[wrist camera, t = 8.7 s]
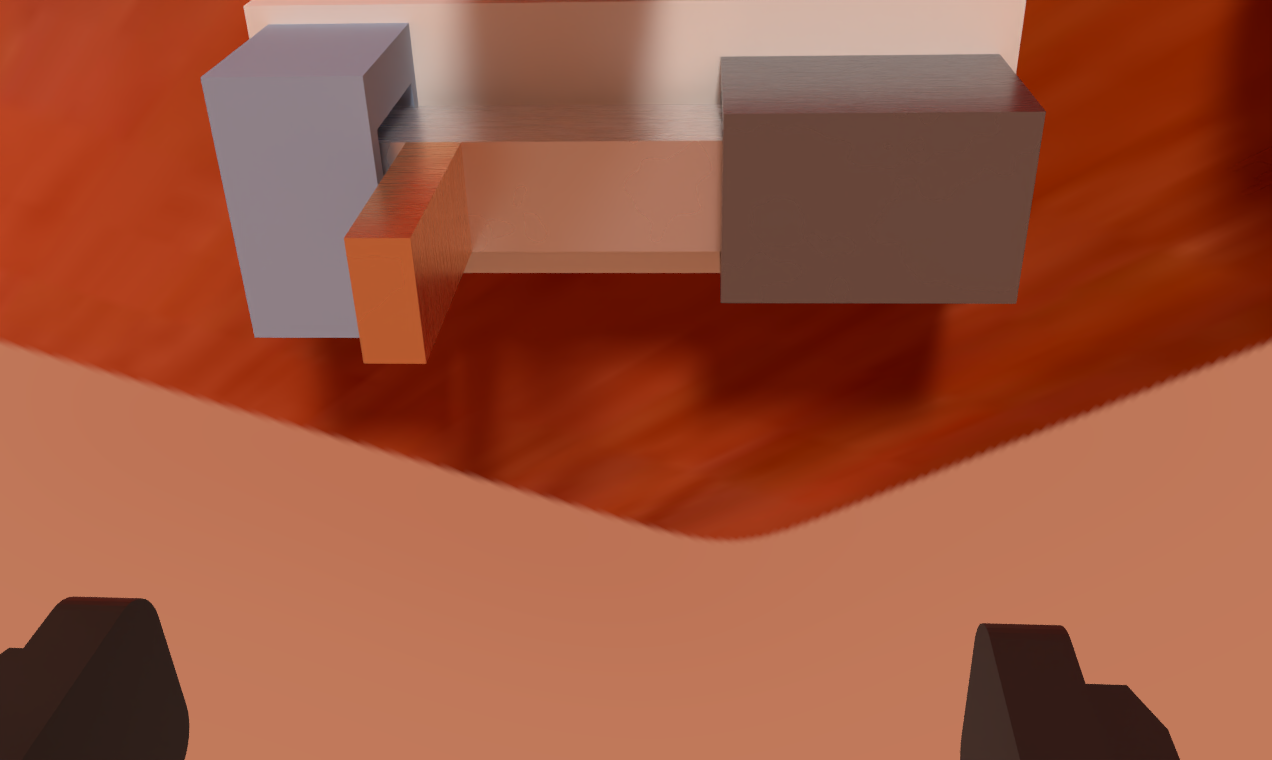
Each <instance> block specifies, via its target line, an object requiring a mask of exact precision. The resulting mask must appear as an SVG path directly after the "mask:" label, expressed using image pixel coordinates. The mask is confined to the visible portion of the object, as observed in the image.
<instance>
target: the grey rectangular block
mask: <svg viewBox="0 0 1272 760" xmlns="http://www.w3.org/2000/svg"><path fill="white" fill-rule="evenodd" d="M720 104H722V123H723V151H722V220H721V251H719V258H720V295H721V303H984V304H1016V301H1017V294H1018V288H1019V281H1020V275H1021V268H1022V262H1023V255H1024V249H1025V242H1026V236H1027V230H1028V223H1029V217H1030V210H1031V204H1032V197H1033V191H1034V184H1035V178H1036V171H1037V165H1038V158H1039V152H1040V145H1041V139H1042V132H1043V126H1044V120H1045V113H1046V111H1045V110H1044V109H1043V108H1042V106H1041V105H1040V104H1039V103H1038V101H1037V100H1036V99H1035V98H1034V96H1033V95H1032V94H1031V93H1030V91H1029V90H1028V89H1027V88H1026V86H1025V85H1024V84H1023V83H1022V81H1021V80H1020V79H1019V77H1018V76H1017V75H1016V74H1015V72H1014V71H1013V70H1012V69H1011V67H1010V66H1009V65H1008V64H1007V62H1006V61H1005V60H1004V59H1003V57H1002V56H1001V55H1000V54H950V55H843V56H736V57H721V87H720Z"/></svg>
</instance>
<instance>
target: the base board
mask: <svg viewBox="0 0 1272 760" xmlns="http://www.w3.org/2000/svg"><path fill="white" fill-rule="evenodd" d="M1025 5H1026V0H251V1H250V2H248V3H247V4H246V5H244V6H243V7H244V12H245V18H246V23H247V28H248V34H249V39H250V38H252V37H253V36H254V35H255V34H257V33H258V32H259V31H261V30H262V29H263V28H264V27H266V26H267V25H268V24H351V23H409V29H410V38H411V46H412V55H413V63H414V72H415V80H416V89H417V97H418V106H475V105H614V104H720V87H721V57H736V56H843V55H950V54H1000V55H1001V56H1002V57H1003V59H1004V60H1005V61H1006V62H1007V64H1008V65H1009V66H1010V67H1011V69H1012V70H1013V71H1014V72H1015V74H1016V69H1017V62H1018V55H1019V48H1020V41H1021V33H1022V26H1023V19H1024V12H1025ZM463 273H720V258H719V251H700V252H472V253H471V255H470V258H469V260H468V263H467V265H466V267H465V270H464V272H463Z"/></svg>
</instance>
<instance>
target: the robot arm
mask: <svg viewBox="0 0 1272 760" xmlns="http://www.w3.org/2000/svg"><path fill="white" fill-rule="evenodd" d="M188 739H189V716H188V710H187V706H186V703H185V700H184V696H183V693H182V690H181V687H180V684H179V680H178V677H177V674H176V671H175V668H174V665H173V661H172V658H171V655H170V652H169V649H168V645H167V642H166V639H165V636H164V633H163V629H162V626H161V623H160V620H159V617H158V614H157V612H156V610H155V608H154V607H153V605H152V604H151V603H150V602H149V601H148V600H146V599H141V598H104V597H102V598H101V597H69V598H66V599H64V600H62V601H61V602H60V603H58V604H57V605H56V606H55V608H54V609H53V610H52V611H51V613H50V614H49V615H48V616H47V618H46V619H45V620H44V622H43V623H42V624H41V626H40V627H39V628H38V630H37V631H36V632H35V634H34V635H33V636H32V638H31V639H30V640H29V642H28V643H27V644H26V645H25V647H24V648H9V649H7V650H5V651H4V652H3V653H1V654H0V760H184V759H185V755H186V751H187V746H188ZM960 755H961V756H960V760H1180V759H1179V756H1178V754H1177V751H1176V749H1175V746H1174V744H1173V741H1172V739H1171V736H1170V734H1169V731H1168V729H1167V728H1166V727H1165V726H1164V725H1163V724H1162V723H1161V722H1160V721H1159V720H1158V718H1156V716H1155V715H1154V714H1153V713H1152V712H1151V711H1150V710H1149V709H1148V708H1147V707H1146V706H1145V705H1144V704H1143V703H1142V701H1141V700H1140V699H1139V698H1138V697H1137V696H1136V695H1135V694H1134V693H1133V692H1132V690H1130V688H1129V687H1128V686H1127V685H1103V684H1085V681H1084V678H1083V675H1082V672H1081V669H1080V666H1079V663H1078V660H1077V657H1076V654H1075V651H1074V648H1073V645H1072V642H1071V640H1070V637H1069V634H1068V632H1067V631H1066V629H1065V628H1064V627H1063V626H1060V625H1058V626H1057V625H1024V624H1023V625H1022V624H986V623H983V624H980V625H979V627H978V629H977V632H976V636H975V642H974V650H973V657H972V664H971V672H970V679H969V686H968V693H967V701H966V708H965V715H964V723H963V730H962V738H961V752H960Z"/></svg>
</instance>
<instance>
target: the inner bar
mask: <svg viewBox="0 0 1272 760" xmlns="http://www.w3.org/2000/svg"><path fill="white" fill-rule="evenodd" d="M377 133H378V141H379V148H380V155H381V163H382V170H383V178H382V180H381V181H380V183H379V185H378V186H377V188H376V189H375V191H374V192H373V194H372V195H371V197H370V198H369V200H368V202H367V203H366V205H365V206H364V208H363V209H362V211H361V212H360V214H359V215H358V217H357V219H356V220H355V222H354V223H353V225H352V226H351V228H350V229H349V231H348V232H347V234H346V235H345V237H344V243H345V249H346V256H347V262H348V268H349V274H350V281H351V287H352V293H353V300H354V306H355V312H356V319H357V325H358V331H359V337H360V344H361V350H362V356H363V363H369V364H426V363H427V361H428V358H429V356H430V353H431V351H432V348H433V346H434V344H435V341H436V339H437V336H438V334H439V331H440V329H441V326H442V324H443V321H444V319H445V317H446V314H447V312H448V309H449V307H450V304H451V302H452V299H453V297H454V294H455V292H456V290H457V287H458V285H459V282H460V280H461V277H462V275H463V272H464V270H465V267H466V265H467V263H468V260H469V258H470V255H471V253H472V252H700V251H721V220H722V151H723V123H722V104H614V105H475V106H394V107H393V108H392V110H391V111H390V113H389V114H388V115H387V117H386V118H385V119H384V121H383V122H382V123H381V125H380V126H379V128H378V129H377Z"/></svg>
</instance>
